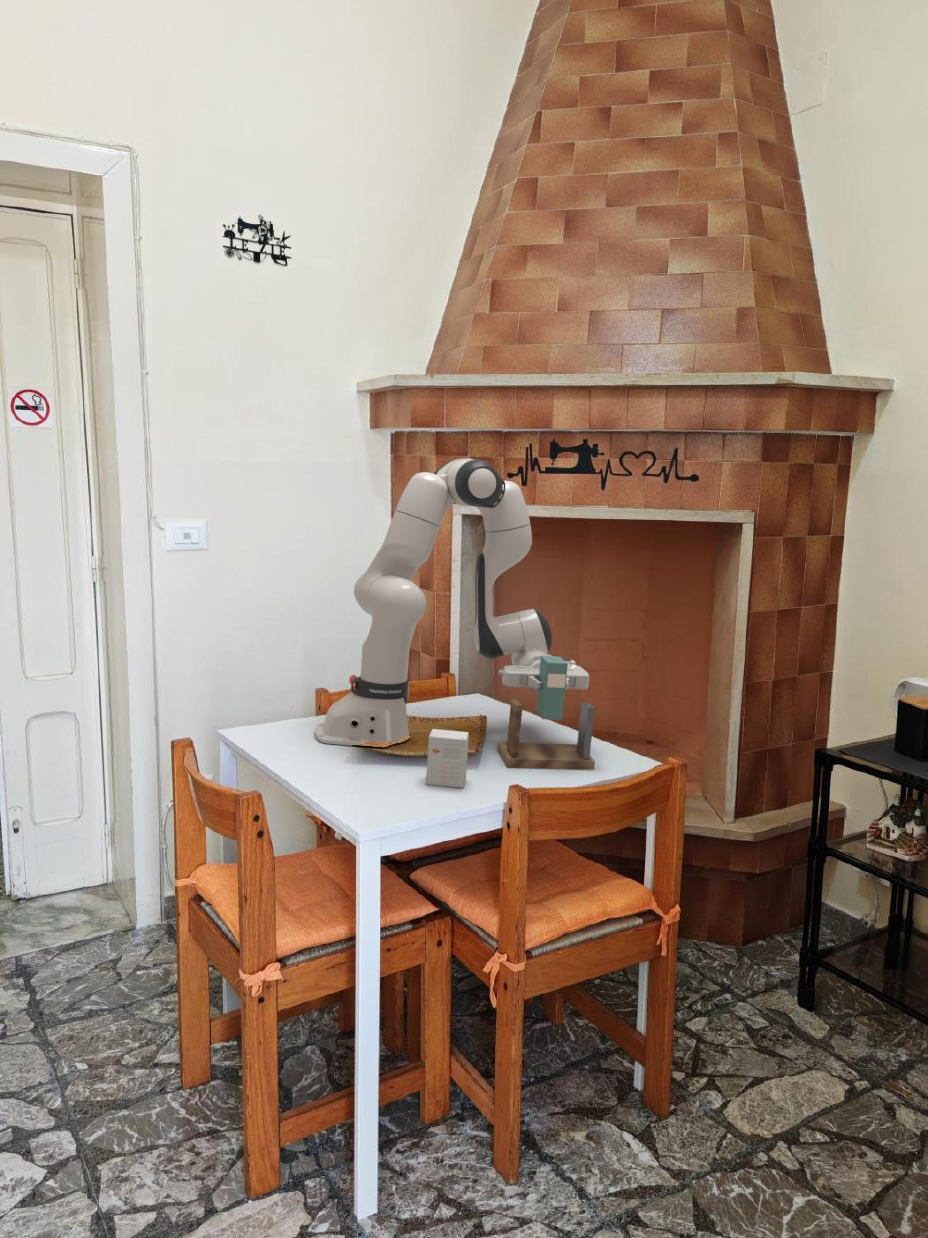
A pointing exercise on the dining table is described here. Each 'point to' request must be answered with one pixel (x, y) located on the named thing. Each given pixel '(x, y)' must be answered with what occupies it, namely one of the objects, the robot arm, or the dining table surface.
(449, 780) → the small box
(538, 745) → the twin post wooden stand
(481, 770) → the dining table surface
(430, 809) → the dining table surface
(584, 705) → the bookend
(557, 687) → the book
